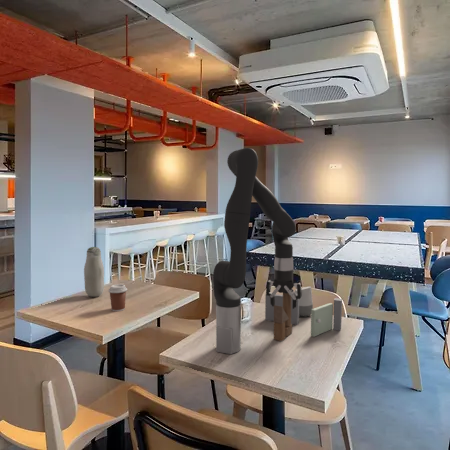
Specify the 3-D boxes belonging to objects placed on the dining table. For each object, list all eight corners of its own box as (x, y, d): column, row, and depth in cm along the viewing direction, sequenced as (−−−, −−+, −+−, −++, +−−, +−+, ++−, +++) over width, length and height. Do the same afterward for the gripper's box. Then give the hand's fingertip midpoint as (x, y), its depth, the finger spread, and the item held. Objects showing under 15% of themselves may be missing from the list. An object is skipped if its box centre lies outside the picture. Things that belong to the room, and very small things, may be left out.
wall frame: (340, 330, 164) (341, 300, 163) (264, 320, 177) (265, 292, 176) (341, 328, 167) (342, 298, 166) (266, 318, 180) (267, 291, 178)
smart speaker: (298, 310, 191) (299, 282, 190) (316, 314, 185) (316, 285, 184) (289, 315, 184) (289, 286, 183) (306, 319, 178) (307, 289, 177)
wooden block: (273, 339, 154) (273, 295, 153) (284, 331, 163) (284, 289, 162) (281, 341, 152) (282, 297, 151) (292, 333, 161) (293, 290, 160)
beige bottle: (81, 298, 213) (79, 247, 210) (93, 293, 223) (91, 245, 220) (97, 299, 210) (95, 248, 208) (107, 294, 220) (106, 246, 217)
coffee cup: (130, 306, 197) (129, 283, 196) (123, 312, 188) (123, 288, 187) (113, 306, 198) (112, 283, 197) (105, 311, 189) (105, 287, 188)
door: (335, 329, 165) (336, 304, 164) (317, 337, 156) (317, 311, 155) (329, 327, 167) (329, 302, 166) (310, 335, 158) (311, 309, 157)
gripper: (264, 268, 155) (264, 307, 156) (299, 271, 149) (299, 311, 151) (269, 264, 161) (269, 302, 163) (303, 267, 156) (302, 306, 158)
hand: (283, 307), depth 157 cm, fingers open, 8 cm apart
